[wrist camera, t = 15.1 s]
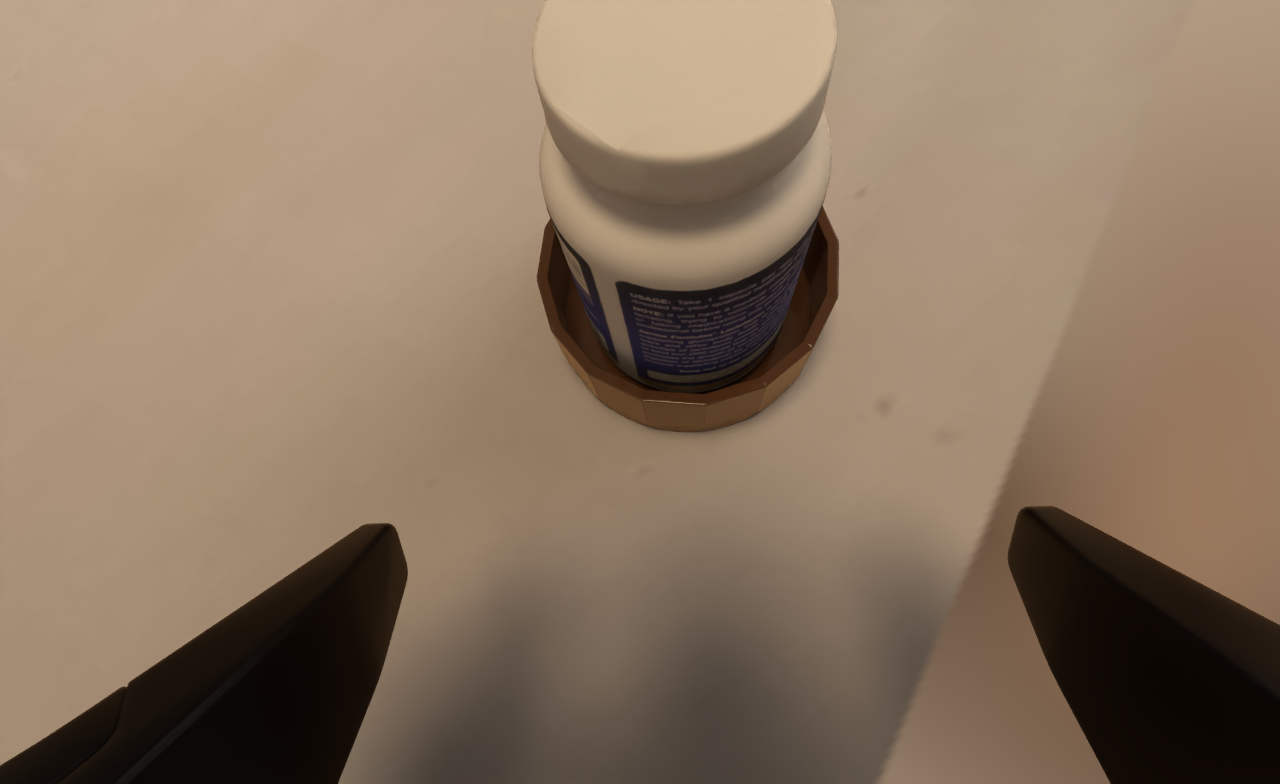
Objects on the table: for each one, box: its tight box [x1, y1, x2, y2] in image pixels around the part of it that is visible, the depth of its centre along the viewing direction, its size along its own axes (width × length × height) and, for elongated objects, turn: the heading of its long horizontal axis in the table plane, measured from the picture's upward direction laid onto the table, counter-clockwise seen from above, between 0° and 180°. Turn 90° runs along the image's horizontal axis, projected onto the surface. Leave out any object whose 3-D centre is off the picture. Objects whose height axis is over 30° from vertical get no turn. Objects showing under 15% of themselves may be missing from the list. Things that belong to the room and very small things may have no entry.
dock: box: [537, 206, 839, 432], centre depth 18 cm, size 8×8×3 cm
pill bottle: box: [532, 0, 837, 393], centre depth 14 cm, size 6×6×10 cm
